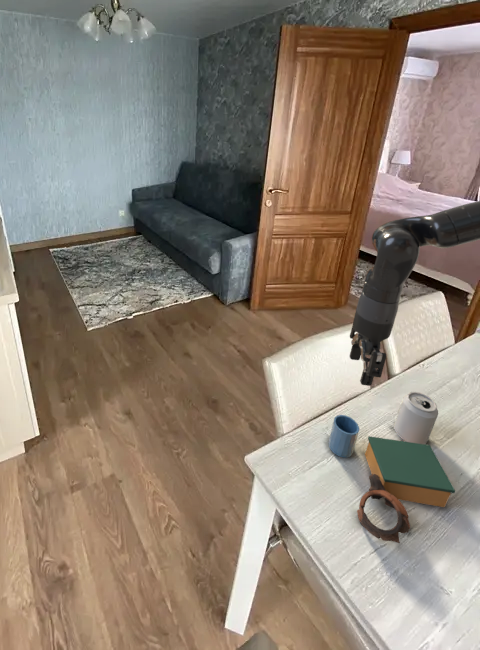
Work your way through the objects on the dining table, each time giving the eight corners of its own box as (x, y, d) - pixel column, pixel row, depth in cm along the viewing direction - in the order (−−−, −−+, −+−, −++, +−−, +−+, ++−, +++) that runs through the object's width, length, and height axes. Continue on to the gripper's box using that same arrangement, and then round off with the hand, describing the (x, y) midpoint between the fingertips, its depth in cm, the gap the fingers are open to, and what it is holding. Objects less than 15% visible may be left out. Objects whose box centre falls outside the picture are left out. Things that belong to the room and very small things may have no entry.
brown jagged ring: (421, 549, 68) (418, 537, 63) (371, 552, 70) (364, 542, 66) (393, 479, 77) (388, 465, 73) (349, 484, 80) (342, 471, 76)
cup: (348, 439, 89) (355, 416, 86) (355, 459, 84) (362, 436, 81) (326, 435, 90) (331, 413, 87) (331, 455, 85) (337, 432, 82)
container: (422, 462, 84) (429, 445, 81) (446, 509, 74) (455, 490, 72) (363, 453, 86) (368, 436, 83) (378, 497, 76) (385, 479, 74)
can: (423, 453, 86) (437, 418, 81) (389, 435, 90) (401, 401, 86) (428, 434, 91) (442, 399, 86) (396, 417, 95) (408, 384, 91)
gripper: (408, 334, 68) (388, 396, 74) (381, 298, 81) (366, 353, 87) (367, 330, 70) (351, 391, 76) (348, 294, 83) (335, 349, 89)
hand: (359, 370), depth 82 cm, fingers open, 8 cm apart
